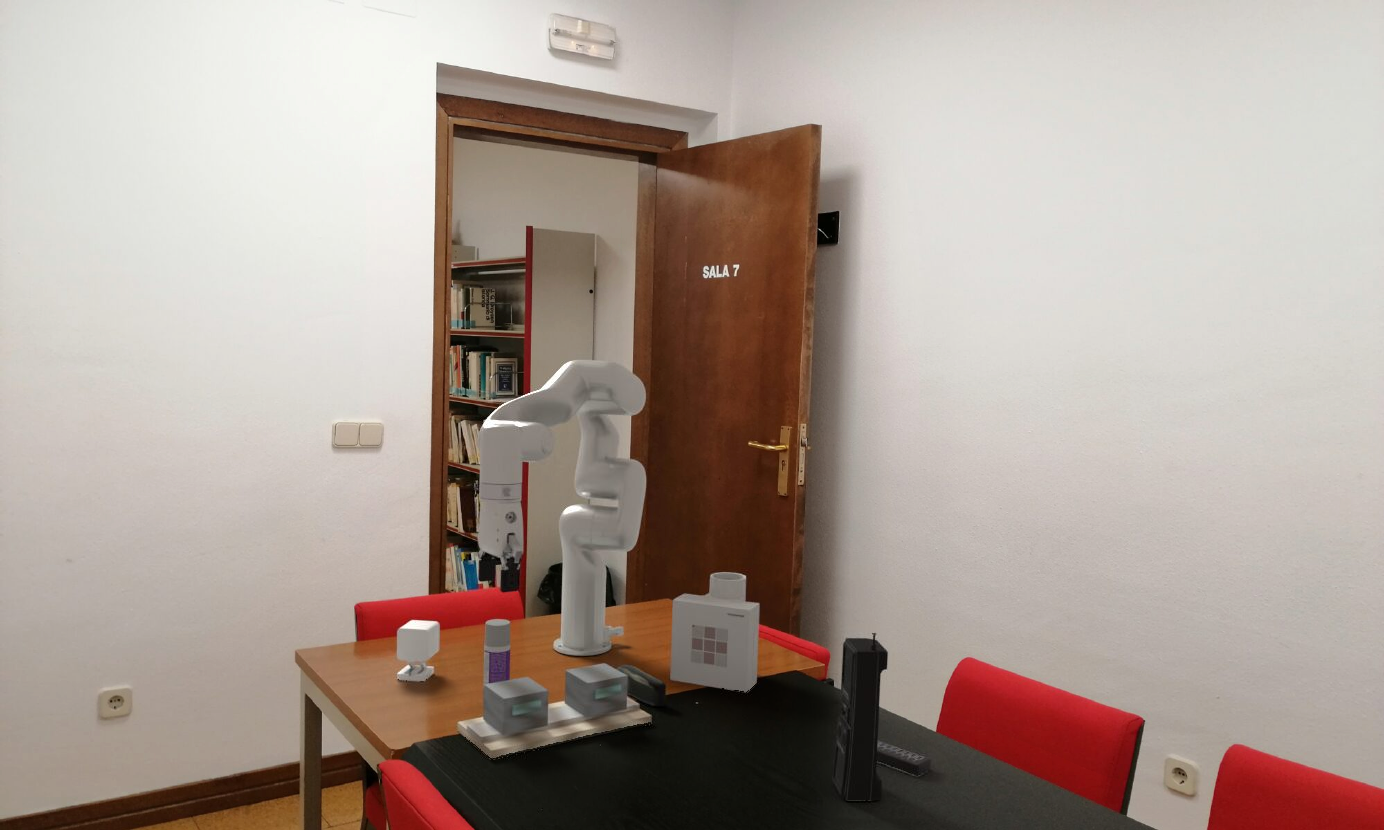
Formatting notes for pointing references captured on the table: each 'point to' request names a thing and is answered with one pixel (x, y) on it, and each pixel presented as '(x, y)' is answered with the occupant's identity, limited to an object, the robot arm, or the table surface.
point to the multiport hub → (902, 759)
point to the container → (496, 651)
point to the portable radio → (859, 720)
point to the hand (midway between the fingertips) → (497, 585)
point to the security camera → (417, 648)
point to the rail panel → (552, 711)
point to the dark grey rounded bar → (644, 686)
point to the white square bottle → (716, 636)
